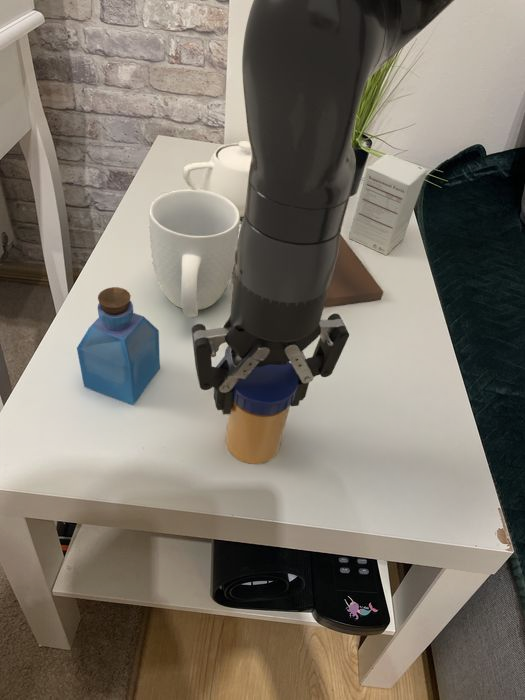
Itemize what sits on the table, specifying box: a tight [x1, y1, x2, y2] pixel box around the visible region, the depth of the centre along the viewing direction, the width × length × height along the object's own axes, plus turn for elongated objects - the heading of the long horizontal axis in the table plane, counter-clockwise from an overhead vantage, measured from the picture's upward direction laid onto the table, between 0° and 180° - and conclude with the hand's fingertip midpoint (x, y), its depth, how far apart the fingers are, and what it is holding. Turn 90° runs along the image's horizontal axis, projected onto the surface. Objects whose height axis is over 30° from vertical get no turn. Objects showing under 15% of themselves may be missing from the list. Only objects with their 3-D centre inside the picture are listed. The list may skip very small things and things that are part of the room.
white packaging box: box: [348, 153, 428, 256], centre depth 84 cm, size 7×7×13 cm
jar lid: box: [232, 361, 298, 415], centre depth 50 cm, size 7×7×2 cm
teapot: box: [182, 140, 252, 218], centre depth 88 cm, size 22×14×11 cm, turn 109°
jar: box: [224, 399, 291, 465], centre depth 53 cm, size 6×6×10 cm
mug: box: [148, 188, 241, 318], centre depth 66 cm, size 15×11×13 cm
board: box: [231, 233, 384, 308], centre depth 78 cm, size 20×16×2 cm
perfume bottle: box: [76, 286, 161, 406], centre depth 56 cm, size 6×6×12 cm
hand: (259, 403), depth 52 cm, fingers closed on jar lid, 6 cm apart
